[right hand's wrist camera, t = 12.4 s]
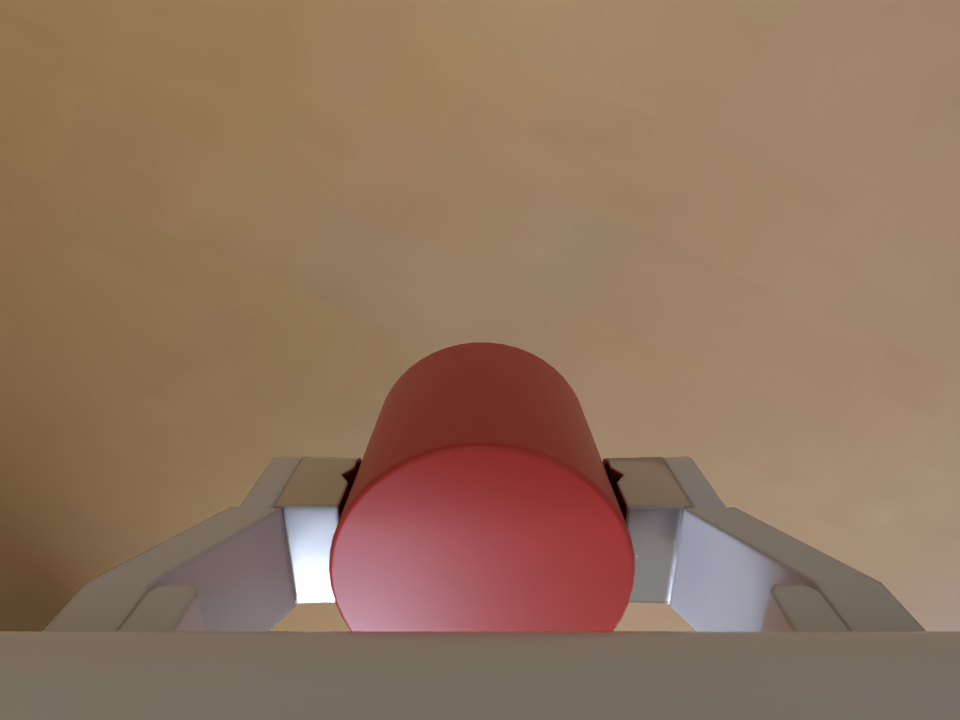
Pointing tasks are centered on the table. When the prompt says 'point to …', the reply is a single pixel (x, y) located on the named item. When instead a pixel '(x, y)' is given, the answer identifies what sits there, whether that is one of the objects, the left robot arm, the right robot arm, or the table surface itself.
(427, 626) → the can
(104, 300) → the table surface
